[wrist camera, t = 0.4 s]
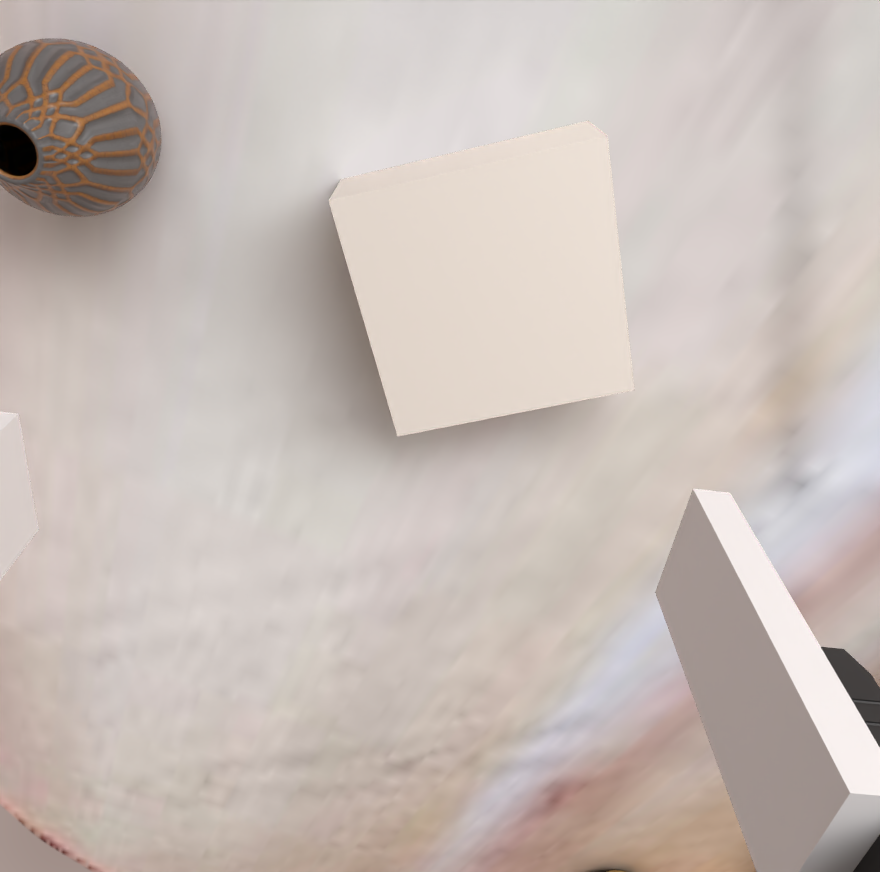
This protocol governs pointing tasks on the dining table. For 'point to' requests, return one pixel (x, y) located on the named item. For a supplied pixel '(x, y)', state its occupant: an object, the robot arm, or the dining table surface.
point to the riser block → (490, 278)
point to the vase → (74, 128)
